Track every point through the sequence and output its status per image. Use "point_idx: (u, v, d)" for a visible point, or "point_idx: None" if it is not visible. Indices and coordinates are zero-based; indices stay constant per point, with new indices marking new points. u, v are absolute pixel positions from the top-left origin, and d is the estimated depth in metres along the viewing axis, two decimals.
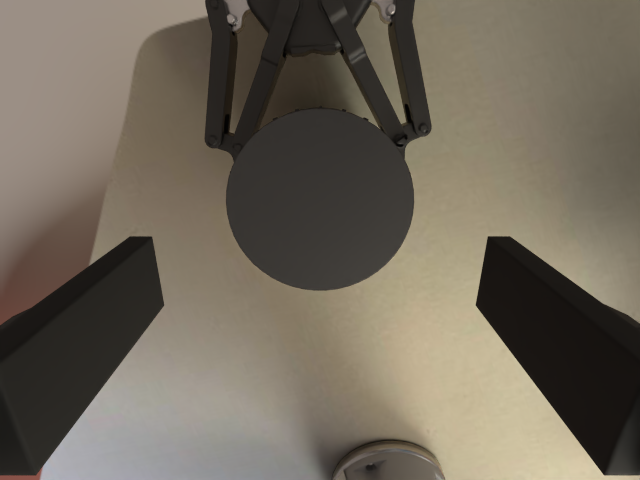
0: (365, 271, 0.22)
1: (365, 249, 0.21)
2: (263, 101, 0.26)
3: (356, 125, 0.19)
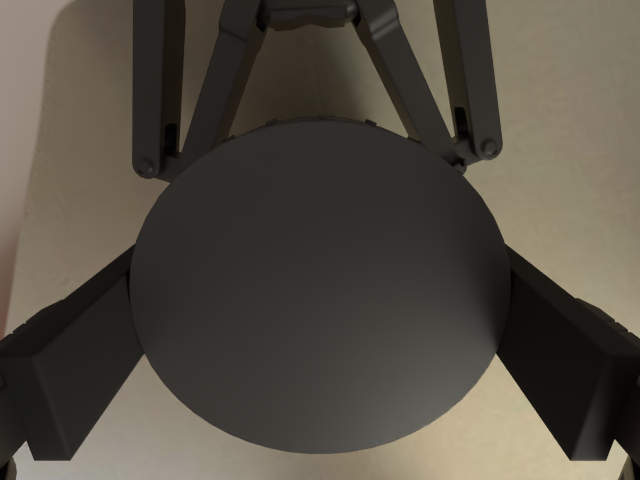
0: (405, 425, 0.12)
1: (407, 389, 0.11)
2: (226, 103, 0.16)
3: (400, 157, 0.09)
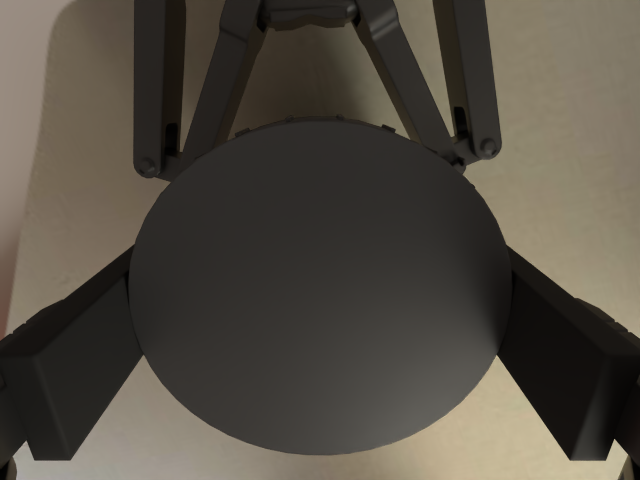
0: (409, 162, 0.09)
1: (356, 193, 0.09)
2: (226, 103, 0.16)
3: (150, 335, 0.10)
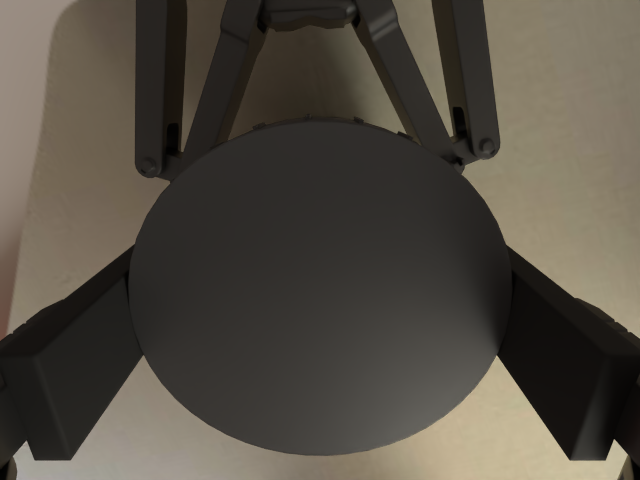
0: (149, 329, 0.10)
1: (197, 348, 0.10)
2: (227, 103, 0.16)
3: (409, 425, 0.12)
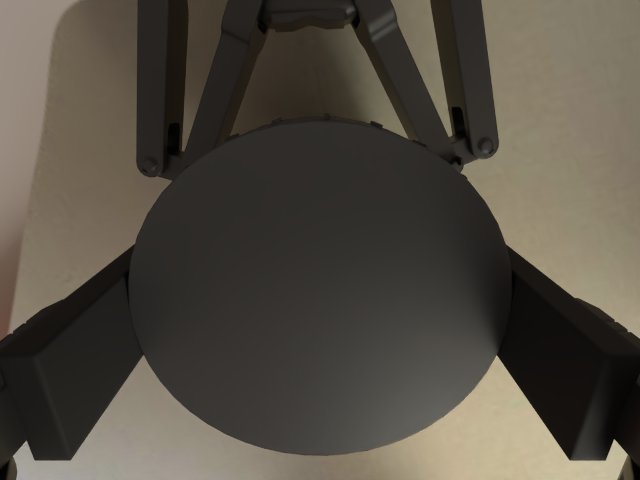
0: (402, 428, 0.12)
1: (405, 392, 0.11)
2: (228, 103, 0.16)
3: (405, 160, 0.09)
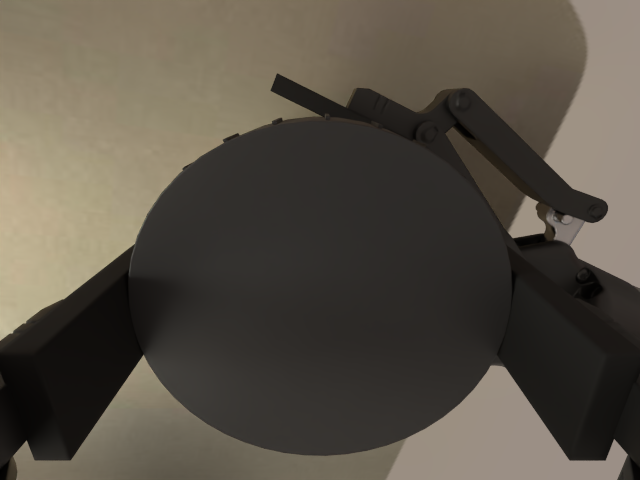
0: (402, 428, 0.12)
1: (405, 392, 0.11)
2: None
3: (406, 160, 0.09)
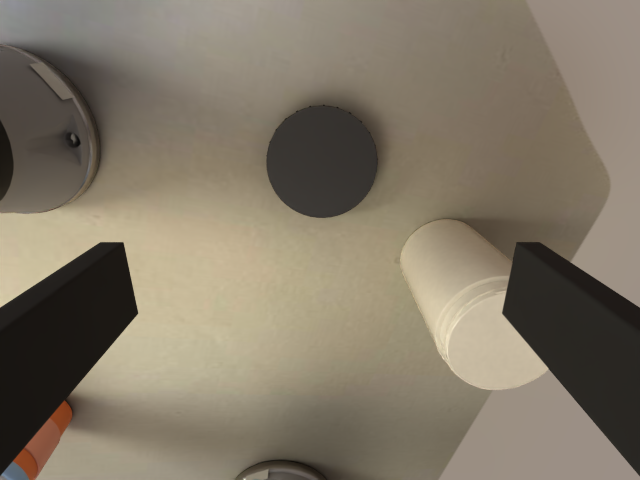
0: (348, 205, 0.36)
1: (348, 191, 0.36)
2: None
3: (344, 116, 0.33)
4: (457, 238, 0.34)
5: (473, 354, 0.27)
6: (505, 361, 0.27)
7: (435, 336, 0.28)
